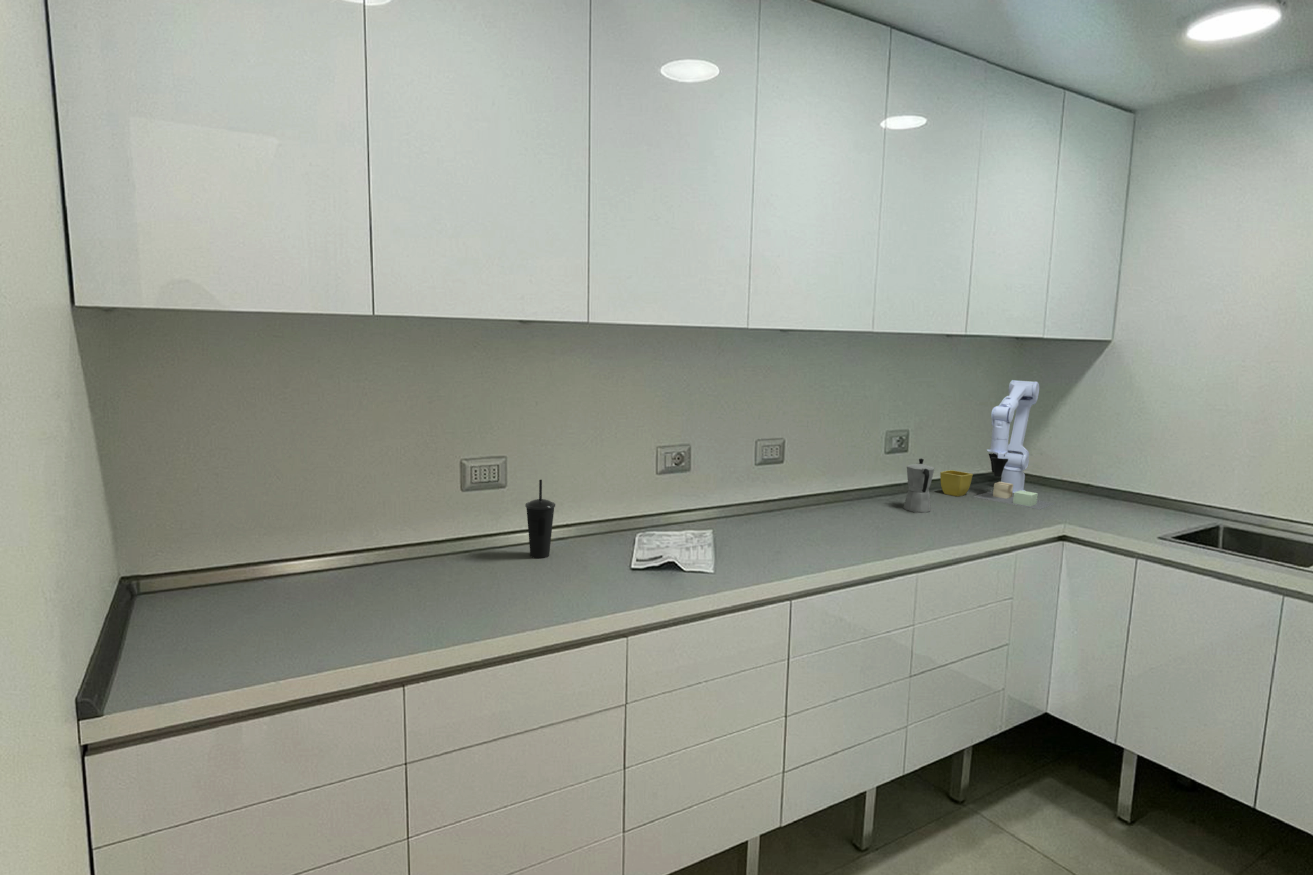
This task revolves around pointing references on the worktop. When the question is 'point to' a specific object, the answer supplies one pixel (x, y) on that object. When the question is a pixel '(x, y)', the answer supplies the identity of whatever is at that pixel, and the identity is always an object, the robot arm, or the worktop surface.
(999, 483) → the birch block
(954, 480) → the flower pot
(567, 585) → the worktop surface
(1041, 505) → the play mat
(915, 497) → the coffeepot
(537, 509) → the drinking cup
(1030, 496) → the sage brick
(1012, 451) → the robot arm
